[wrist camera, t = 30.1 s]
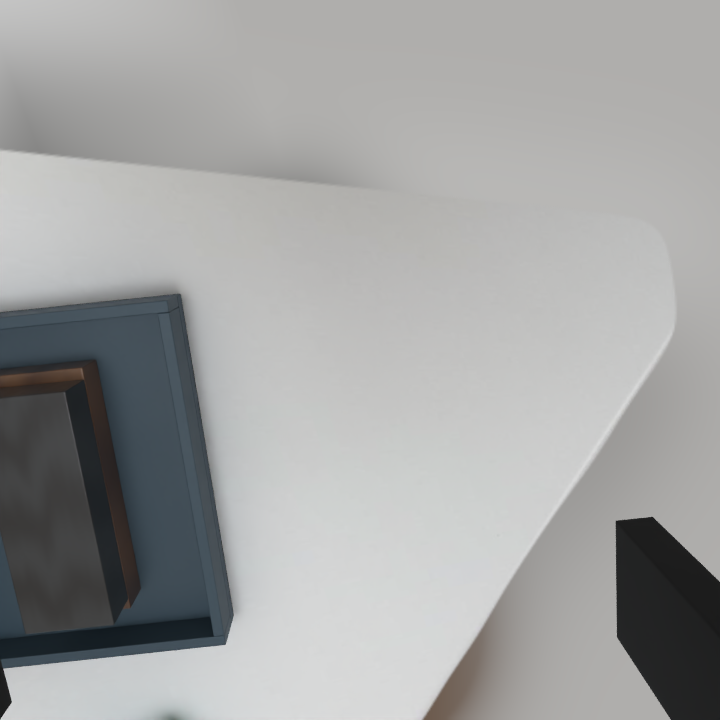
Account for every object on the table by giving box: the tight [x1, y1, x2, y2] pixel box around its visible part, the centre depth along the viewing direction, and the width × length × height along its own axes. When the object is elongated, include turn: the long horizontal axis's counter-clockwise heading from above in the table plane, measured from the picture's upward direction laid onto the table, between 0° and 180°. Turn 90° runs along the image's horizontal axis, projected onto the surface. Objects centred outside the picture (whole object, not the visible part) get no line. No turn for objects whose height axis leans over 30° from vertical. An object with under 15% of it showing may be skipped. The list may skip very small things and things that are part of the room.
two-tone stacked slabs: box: [0, 360, 141, 634], centre depth 43 cm, size 18×6×7 cm
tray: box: [0, 294, 234, 668], centre depth 45 cm, size 26×20×4 cm
